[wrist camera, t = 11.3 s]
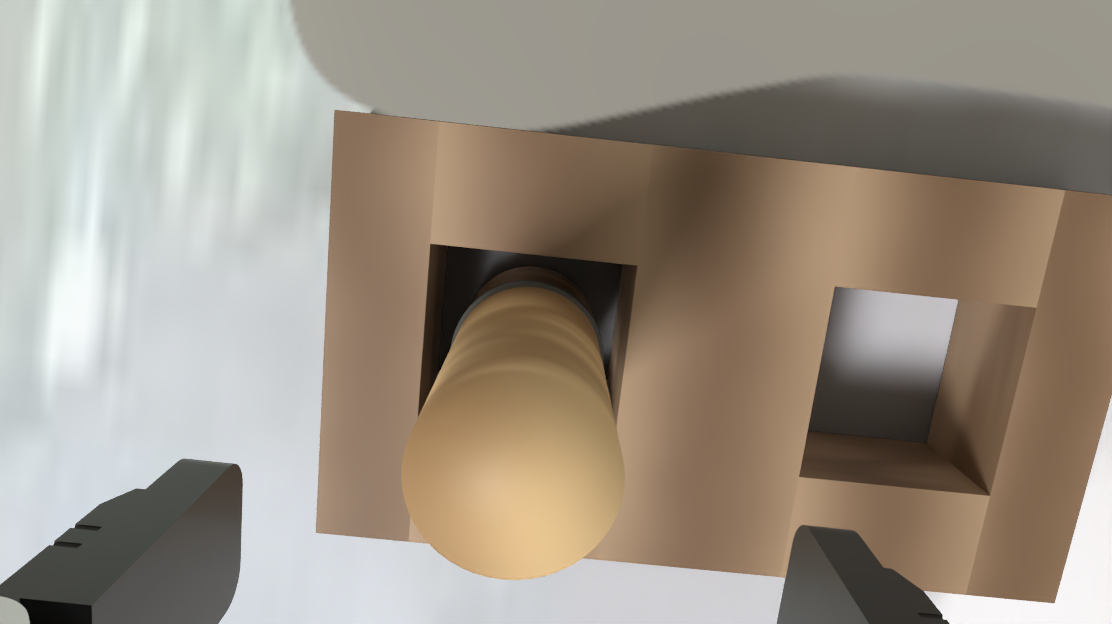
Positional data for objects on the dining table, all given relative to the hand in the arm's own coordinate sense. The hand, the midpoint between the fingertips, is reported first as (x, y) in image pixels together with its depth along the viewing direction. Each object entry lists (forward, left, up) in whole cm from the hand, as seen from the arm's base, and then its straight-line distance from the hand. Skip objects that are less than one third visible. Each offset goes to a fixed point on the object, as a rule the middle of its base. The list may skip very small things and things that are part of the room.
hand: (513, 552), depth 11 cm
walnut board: (-5, 0, -15) cm, 16 cm away
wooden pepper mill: (0, 0, -15) cm, 15 cm away
